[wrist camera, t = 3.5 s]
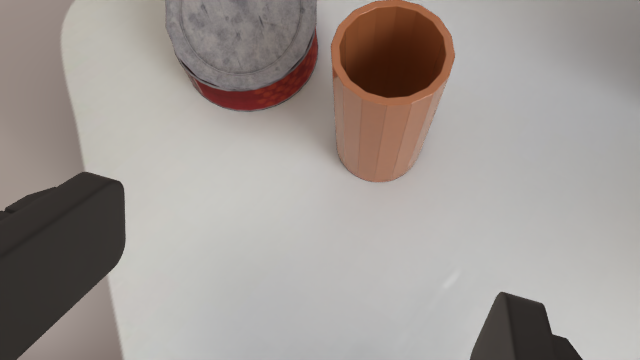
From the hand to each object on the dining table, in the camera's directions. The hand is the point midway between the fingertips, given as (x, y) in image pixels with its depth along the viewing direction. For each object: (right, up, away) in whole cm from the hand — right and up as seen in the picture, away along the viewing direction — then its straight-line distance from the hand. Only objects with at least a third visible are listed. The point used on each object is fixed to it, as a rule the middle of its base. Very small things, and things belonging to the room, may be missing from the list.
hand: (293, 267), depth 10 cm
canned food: (-4, +11, +25) cm, 28 cm away
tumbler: (+4, +4, +22) cm, 23 cm away
